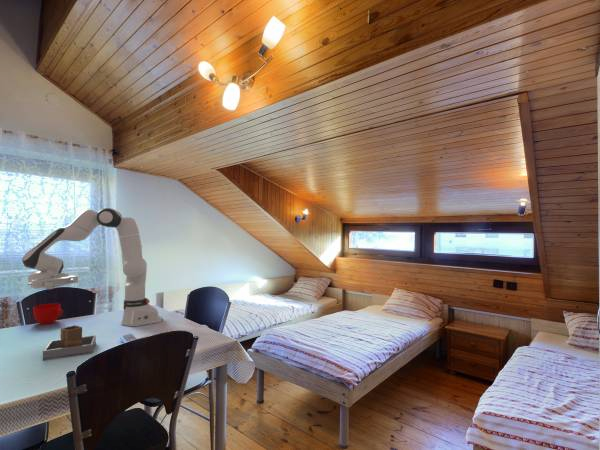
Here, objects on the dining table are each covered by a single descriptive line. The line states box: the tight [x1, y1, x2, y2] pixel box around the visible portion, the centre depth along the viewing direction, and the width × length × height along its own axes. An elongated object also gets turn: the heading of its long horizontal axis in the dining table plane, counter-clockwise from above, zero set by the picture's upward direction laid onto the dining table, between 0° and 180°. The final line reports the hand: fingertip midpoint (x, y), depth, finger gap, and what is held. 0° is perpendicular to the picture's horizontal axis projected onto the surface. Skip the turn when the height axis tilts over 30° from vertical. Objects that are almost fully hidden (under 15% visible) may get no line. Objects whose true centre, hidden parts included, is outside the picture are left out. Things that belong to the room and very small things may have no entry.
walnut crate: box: [60, 324, 83, 348], centre depth 147 cm, size 6×6×10 cm
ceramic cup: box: [32, 303, 64, 325], centre depth 190 cm, size 13×17×10 cm
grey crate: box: [42, 334, 97, 361], centre depth 147 cm, size 18×14×4 cm
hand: (62, 282), depth 165 cm, fingers open, 8 cm apart
